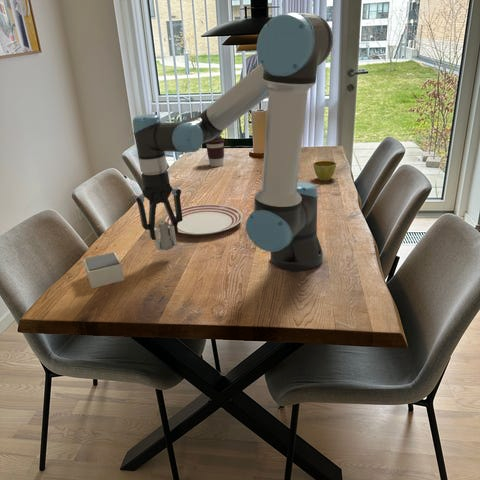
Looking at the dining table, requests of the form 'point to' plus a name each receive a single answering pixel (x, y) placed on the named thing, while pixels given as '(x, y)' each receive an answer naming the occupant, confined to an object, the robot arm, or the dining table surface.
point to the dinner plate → (207, 219)
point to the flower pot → (324, 169)
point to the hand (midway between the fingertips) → (166, 246)
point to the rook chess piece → (164, 237)
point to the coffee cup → (216, 151)
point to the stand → (103, 270)
